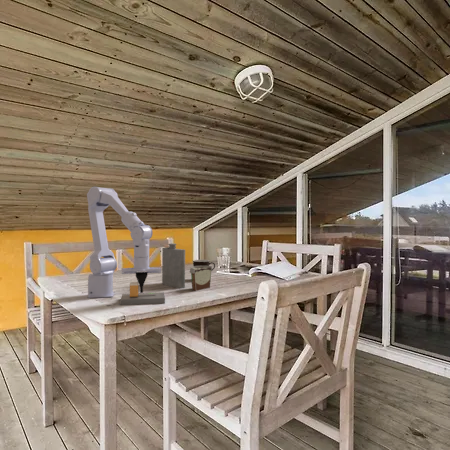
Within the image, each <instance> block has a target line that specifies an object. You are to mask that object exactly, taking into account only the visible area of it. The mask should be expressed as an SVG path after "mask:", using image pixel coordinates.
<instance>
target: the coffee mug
mask: <svg viewBox="0 0 450 450" xmlns="http://www.w3.org/2000/svg"><path fill="white" fill-rule="evenodd" d="M192 264H193V266H211V264H212V265H213V267H212V271H214V269H215V268H216V264H215V262H210V260H209V259H193V260H192ZM193 266H192V267H193Z"/></svg>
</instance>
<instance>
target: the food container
mask: <svg viewBox="0 0 450 450" xmlns="http://www.w3.org/2000/svg"><path fill="white" fill-rule="evenodd" d="M212 269H213V267H212V265H209V266H191V267H190V269H189V273H190V276H191V288H192V291H194V292H198V291H203V290H209V289H211V281H212V271H213V270H212Z"/></svg>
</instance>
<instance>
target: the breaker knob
mask: <svg viewBox="0 0 450 450" xmlns="http://www.w3.org/2000/svg"><path fill="white" fill-rule="evenodd" d="M138 293H139V282H138V280H134V281H130V282H129V294H130V297H137V296H138Z"/></svg>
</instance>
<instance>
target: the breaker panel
mask: <svg viewBox="0 0 450 450" xmlns="http://www.w3.org/2000/svg"><path fill="white" fill-rule="evenodd" d="M165 303H166V297H165V293H164V292H163V291H162V292H143V293H140V292H138V296H137V297H130V293H122V294H121V297H120V306H131V305H133V306H134V305H154V304H155V305H159V304H161V305H162V304H165Z"/></svg>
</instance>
